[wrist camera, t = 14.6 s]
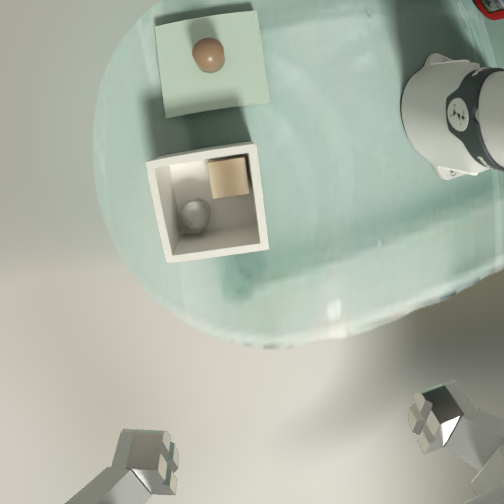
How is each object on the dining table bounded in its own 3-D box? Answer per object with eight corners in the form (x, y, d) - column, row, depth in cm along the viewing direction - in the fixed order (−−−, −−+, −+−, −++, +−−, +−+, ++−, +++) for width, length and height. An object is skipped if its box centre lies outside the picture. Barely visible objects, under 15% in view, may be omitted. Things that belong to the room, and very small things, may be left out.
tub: (251, 141, 37) (256, 143, 29) (262, 226, 41) (268, 249, 34) (162, 155, 37) (145, 162, 29) (178, 238, 41) (166, 263, 33)
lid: (255, 16, 31) (259, -4, 25) (267, 103, 35) (274, 98, 29) (159, 32, 31) (145, 15, 25) (169, 118, 35) (157, 116, 29)
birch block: (243, 154, 37) (244, 157, 33) (247, 187, 38) (249, 193, 34) (210, 159, 37) (207, 163, 33) (215, 192, 38) (213, 198, 34)
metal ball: (208, 196, 38) (206, 201, 36) (212, 224, 40) (211, 231, 37) (179, 200, 38) (175, 206, 35) (184, 228, 40) (181, 235, 37)
